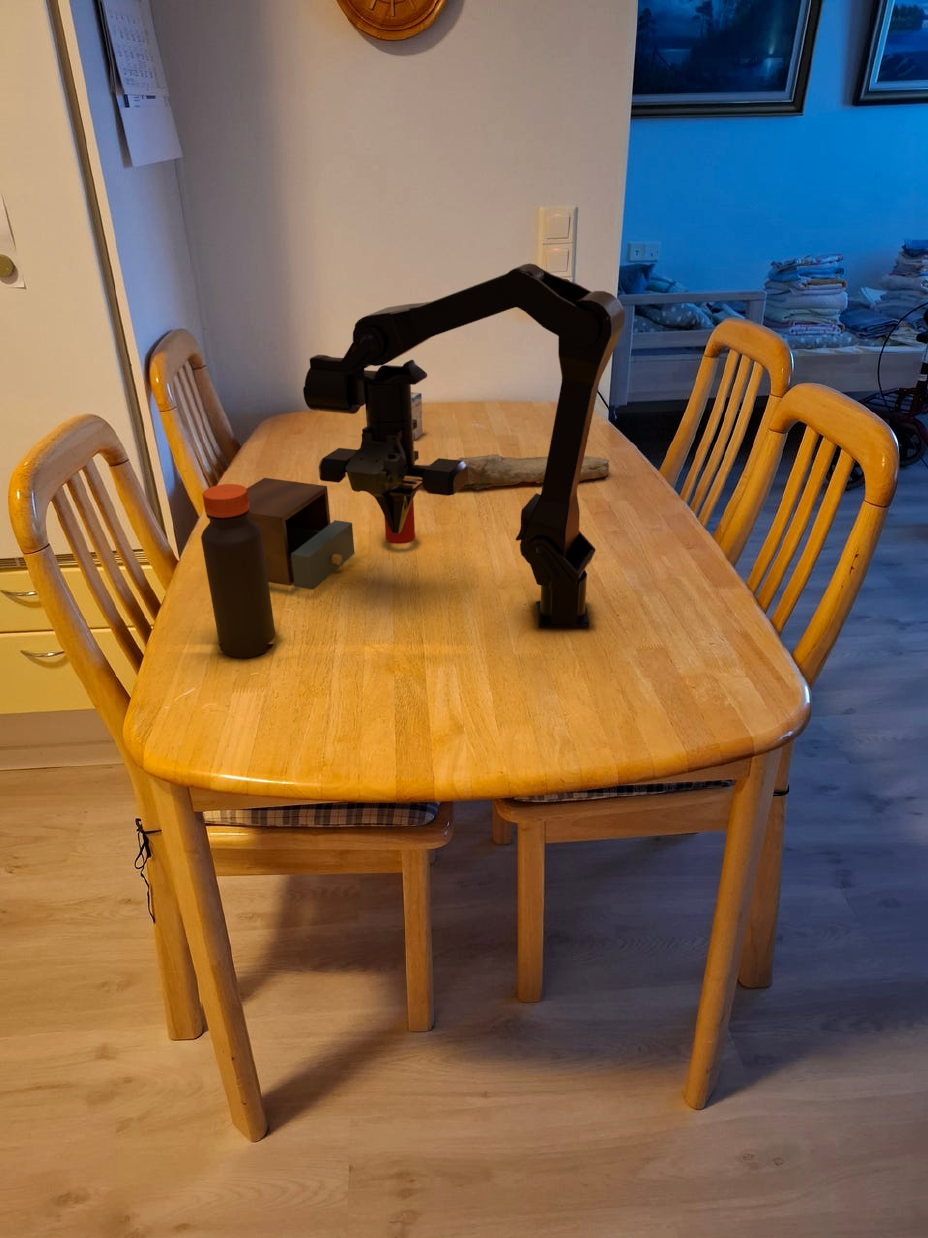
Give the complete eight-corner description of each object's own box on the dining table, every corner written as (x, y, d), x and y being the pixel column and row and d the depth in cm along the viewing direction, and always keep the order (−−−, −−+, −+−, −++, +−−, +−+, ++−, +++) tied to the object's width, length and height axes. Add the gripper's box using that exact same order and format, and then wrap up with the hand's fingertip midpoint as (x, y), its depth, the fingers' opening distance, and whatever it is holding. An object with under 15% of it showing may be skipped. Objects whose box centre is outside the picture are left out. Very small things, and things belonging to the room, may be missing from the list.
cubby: (333, 557, 132) (327, 485, 126) (290, 593, 122) (281, 517, 116) (273, 547, 135) (264, 477, 130) (226, 581, 125) (215, 507, 120)
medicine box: (379, 437, 181) (376, 394, 177) (387, 431, 185) (384, 389, 181) (416, 440, 179) (414, 397, 175) (423, 434, 183) (421, 391, 179)
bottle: (252, 625, 114) (230, 476, 104) (287, 642, 110) (268, 489, 101) (208, 647, 110) (181, 493, 100) (243, 665, 106) (218, 507, 96)
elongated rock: (615, 490, 157) (599, 474, 166) (619, 461, 155) (602, 446, 164) (417, 493, 152) (411, 476, 161) (417, 463, 150) (411, 447, 158)
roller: (412, 551, 133) (410, 497, 129) (383, 550, 134) (380, 496, 130) (417, 539, 137) (415, 486, 133) (389, 538, 138) (386, 485, 133)
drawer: (361, 559, 130) (358, 523, 127) (319, 595, 120) (315, 557, 118) (282, 546, 134) (278, 511, 132) (236, 580, 124) (230, 544, 122)
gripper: (290, 428, 107) (304, 547, 115) (433, 442, 101) (438, 567, 109) (334, 404, 116) (345, 515, 124) (468, 415, 110) (471, 532, 118)
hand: (396, 532), depth 118 cm, fingers closed
